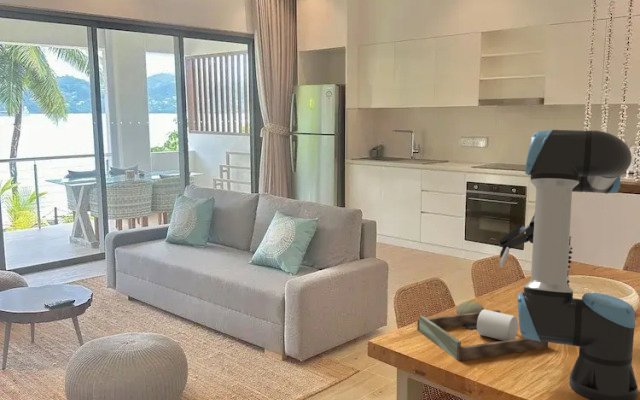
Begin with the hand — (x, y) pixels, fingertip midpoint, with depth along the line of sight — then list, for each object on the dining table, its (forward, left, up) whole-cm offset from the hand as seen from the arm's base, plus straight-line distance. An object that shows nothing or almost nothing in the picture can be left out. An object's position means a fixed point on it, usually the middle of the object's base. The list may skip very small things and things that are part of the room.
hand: (521, 272), depth 176 cm
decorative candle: (+37, -22, -19) cm, 47 cm away
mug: (-5, +7, -19) cm, 21 cm away
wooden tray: (-8, +13, -19) cm, 25 cm away
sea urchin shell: (+12, +13, -19) cm, 26 cm away
